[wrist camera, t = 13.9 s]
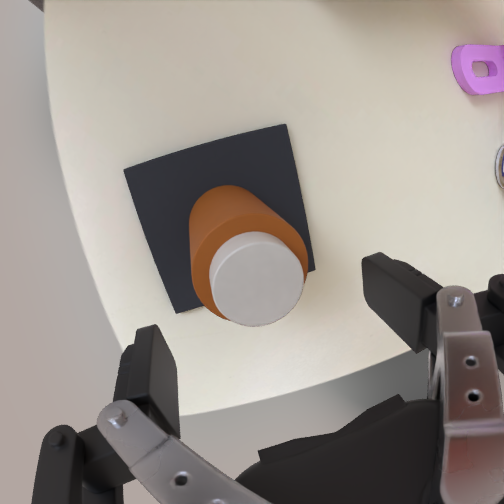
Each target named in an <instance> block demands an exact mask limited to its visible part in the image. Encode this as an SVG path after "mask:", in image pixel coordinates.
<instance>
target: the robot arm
mask: <svg viewBox="0 0 504 504" xmlns="http://www.w3.org/2000/svg"><path fill="white" fill-rule="evenodd" d="M362 277H363V291H364V297H365V300H366V302H367V304H368V306H369V307H370V308H371V309H372V310H373V311H374V312H375V313H376V314H377V315H378V316H379V317H380V318H381V319H382V320H383V321H384V322H385V323H386V324H387V325H388V326H389V327H390V328H391V329H392V330H393V331H394V332H395V333H396V334H397V335H398V336H399V337H400V338H401V339H402V340H403V341H404V342H405V343H406V344H407V345H408V346H409V347H410V348H411V349H412V350H413V351H414V352H415V353H416V354H417V353H419V352H420V351H422V350H424V349H426V348H428V349H429V350H430V352H429V368H428V369H429V370H428V393H427V399H418V400H411V401H407V402H405V401H404V400H403V399H402V397H401V396H400V395H399V394H397V395H396V396H393V397H391V398H389V399H387V400H386V401H383V402H382V403H380V404H377V405H375V406H373V407H371V408H369V409H367V410H366V411H365V412H363V413H362V414H361V415H359V416H358V417H357V418H355V419H354V420H353V421H351V422H350V423H348V424H347V425H346V426H344V427H343V428H341V429H340V430H338V431H337V432H334V433H329V434H324V435H318V436H311V437H305V438H298V439H293V440H290V441H287V442H284V443H281V444H278V445H275V446H272V447H269V448H265V449H262V450H258V454H259V457H260V461H259V462H257V463H255V464H253V465H252V466H250V467H249V468H248V469H246V470H245V471H244V472H242V473H241V474H240V475H239V476H238V477H237V478H236V479H235V480H233V479H232V478H230V477H229V476H227V475H226V474H224V473H223V472H221V471H220V470H219V469H217V468H216V467H214V466H213V465H212V464H210V463H209V462H207V461H206V460H205V459H203V458H202V457H201V456H199V455H198V454H197V453H195V452H194V451H193V450H192V449H190V448H189V447H188V446H186V445H185V444H184V443H183V442H181V441H180V440H179V439H180V424H179V406H178V383H177V367H176V363H175V360H174V357H173V355H172V353H171V351H170V349H169V347H168V345H167V343H166V341H165V339H164V337H163V335H162V333H161V331H160V329H159V327H158V326H157V325H156V324H154V325H151V326H147V327H144V328H140V329H137V331H136V336H135V341H134V344H132V345H128V346H127V348H126V349H125V351H124V352H123V354H122V356H121V360H120V367H119V370H118V376H117V381H116V386H115V392H114V398H113V402H112V403H110V404H109V405H107V406H106V407H105V408H104V409H103V410H102V411H101V412H100V414H99V416H98V418H97V425H95V426H93V427H91V428H88V429H86V430H84V431H81V432H79V433H77V432H75V430H74V429H73V428H72V427H70V426H68V425H59V426H56V427H54V428H53V429H51V430H50V431H49V432H48V433H47V434H46V435H45V437H44V439H43V442H42V446H41V450H40V455H39V460H38V466H37V471H36V476H35V483H34V489H33V496H32V503H31V504H124V501H123V484H125V483H127V482H130V481H132V480H134V479H137V480H138V481H139V482H140V483H141V484H142V485H143V486H144V487H145V488H146V489H147V490H148V492H150V494H151V495H152V496H153V497H154V498H155V499H156V500H157V501H158V502H159V503H160V504H504V412H503V402H502V394H501V387H500V379H499V373H498V369H499V370H500V371H501V372H502V373H503V374H504V274H498V275H495V276H493V277H491V278H490V280H489V284H488V290H486V291H482V292H478V293H474V294H473V293H472V292H471V291H470V290H469V289H467V288H465V287H461V286H447V287H442V286H441V285H439V284H438V283H436V282H435V281H433V280H432V279H430V278H429V277H427V276H426V275H424V274H422V273H421V272H420V271H418V270H417V269H416V270H415V268H414V267H412V266H411V265H409V264H408V263H406V262H402V261H399V260H395V259H394V260H392V259H391V258H389V257H388V256H386V255H385V254H383V253H381V252H378V253H375V254H373V255H370V256H367V257H364V258H363V259H362Z"/></svg>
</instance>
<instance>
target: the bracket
mask: <svg viewBox="0 0 504 504" xmlns="http://www.w3.org/2000/svg"><path fill="white" fill-rule="evenodd" d="M476 61H483V62H485V63H486V64H487V66H488V69H489V75H488V76H487V77H476V76H475V74H474V73H473V70H472V62H476ZM451 62H452V69H453V72H454V75H455V78H456V80H457V82H458V83H459V85H460V86H461V88H462V89H463V90H464V91H465V92H467V93H468V94H471V95H483V94H489V93H496V92H502V91H504V45H501V46H493V45H471V44H469V45H462V46H457V47H456V48H455V49H454V50H453V52H452V58H451Z"/></svg>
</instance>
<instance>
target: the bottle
mask: <svg viewBox="0 0 504 504" xmlns="http://www.w3.org/2000/svg"><path fill="white" fill-rule="evenodd" d="M189 236H190V257H191V275H192V282H193V286H194V289H195V292H196V294H197V296H198V298H199V299H200V301H201V302H202V303H203V304H204V306H205V307H206V308H207V309H209V310H210V311H211V312H212V313H214V314H215V315H217V316H219V317H221V318H223V319H226V320H229V321H232V322H235V323H237V324H240V325H244V326H252V327H255V326H264V325H268V324H271V323H273V322H276V321H277V320H279V319H281V318H282V317H284V316H285V315H286V314H288V313H289V312H290V311H291V310H292V309H293V308H294V306H295V305H296V303H297V302H298V300H299V298H300V296H301V293H302V290H303V285H304V283H305V280H306V276H307V271H308V255H307V251H306V247H305V245H304V242H303V240H302V239H301V237H300V235H299V234H298V233H297V231H296V230H295V229H294V228H293V227H292V226H291V225H289V224H288V223H287V222H286V221H285V220H284V219H282V218H281V217H280V216H279V215H278V214H276V213H275V212H274V211H273V210H272V209H270V208H269V207H268V206H267V205H266V204H264V203H263V202H262V201H261V200H259V199H258V198H257V197H256V196H255V195H253V194H252V193H251V192H249V191H248V190H246V189H244V188H242V187H238V186H233V185H224V186H218V187H215V188H213V189H211V190H209V191H207V192H206V193H204V194H203V195H202V196H201V197H200V198H199V199H198V200H197V201H196V203H195V204H194V206H193V208H192V210H191V214H190V218H189Z"/></svg>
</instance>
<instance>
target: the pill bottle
mask: <svg viewBox="0 0 504 504" xmlns="http://www.w3.org/2000/svg"><path fill="white" fill-rule="evenodd" d="M496 176H497V180H498V183H499V184H500V186H501V187H502V188H503V189H504V146H502V147H501V148H500V150H499V152H498V155H497V159H496Z"/></svg>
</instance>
